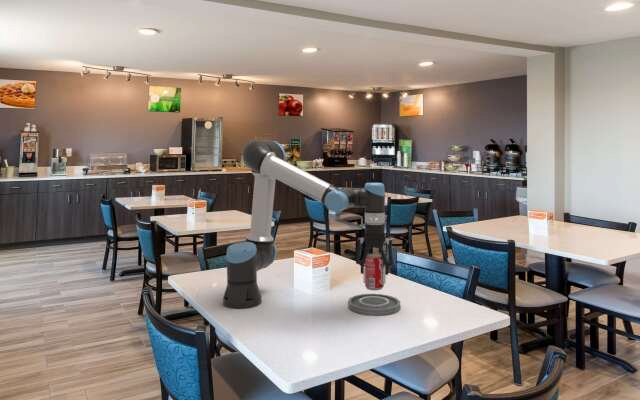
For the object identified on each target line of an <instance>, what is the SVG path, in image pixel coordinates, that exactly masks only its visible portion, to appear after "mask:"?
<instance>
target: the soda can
mask: <svg viewBox="0 0 640 400" xmlns="http://www.w3.org/2000/svg"><path fill="white" fill-rule="evenodd" d="M364 265H365V283H364V285H365V288H366V290H369V291H381V290H382V289H383V288H384V287H385V284H383V266H385V264H384V261H383V258H382V256H381V253H380V254H379V253H368V255H367V256H366V259H365V263H364Z"/></svg>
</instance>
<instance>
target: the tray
mask: <svg viewBox="0 0 640 400" xmlns="http://www.w3.org/2000/svg"><path fill="white" fill-rule="evenodd" d="M347 307H348V309H349V310H350V311H351V312H353V313H356V314H359V315H364V316H377V317H378V316H379V317H380V316H388V315H393V314H396V313H398V312H400V310H401V300H399V299H398V298H397V297H394V296H391V295H388V294H383V293H361V294H357V295H353V296H351V297H349V299H348V301H347Z"/></svg>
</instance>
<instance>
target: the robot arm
mask: <svg viewBox="0 0 640 400" xmlns="http://www.w3.org/2000/svg"><path fill="white" fill-rule="evenodd" d="M286 156H287V155H286V151H285V149H284V148H283V146H282V144H280V143H278V142H276V141H272V140H258V139H254V140H251V141H250V142H248V143H247V144H245V146H244V147H243V148H242V153H241V159H242V162H243V163H244V165H245V166H246V167H247V168H249V169H250V170H251V174H252V175H253V176H254V184H253V194H252V195H253V196H252V205H251V206H252V208H251V218H250V219H251V220H250V231H249V234H247V235H246V237H245V241H239V242H236V243H233V244H230V245H229V246H228V247H227V249H226V255H225V259H226V280H227V281H226V282H227V283H226V288H225V290H224V294H223V299H222V305H223V306H225V307H227V306H228V308H230V307H232V308H231V309H248V307H249V308H253V307H257V306H258V305H260V304H262V294H261V290H260V287H259V286H258V271H260V270H262V269H266V268H268V267H269V266H270V265H271V264H273V263H274V262H275V260H276V257H277V250H278V249H277V247H276V245H275V243H274V242H275V241H274V239H275V238H274V237H273V236H272V234H271V232H272V223H273V210H274V202H275V189H276V180H277V181H279V182H281V183H283V184H285V185H286V186H289V187H291V188H292V189H295V190H297V191H299V192H300V193H302V194H304V195H306V196H308V197H310V198H312V199H313V200H315V201H317V202H320V203H321V204H322V205H325V207H326V209H327V210H328V211H331V212H333V213H338V212H339V213H340V212H342V211H344V210H347V209H350V208H364V223H365V224H364V235H363V237H357V239H356V242H357V249H356V259H355V264H356V265H359V266H360V274H362V275H363V284H365V259H366V256H367V255H368V254H369V251H370V249H374V248H376V249H378V250H379V253H380V254H381V256H382V258H383V262H384V266H383V284H384V285H386V283H387V282H386V281H387V280H386V279H387V276H388V275H389V270H390V269H389V267H391V266H393V265H394V256H393V255H394V254H393V247H392V246H393V238H387V237H386V235H385V233H386V232H385V231H386V230H385V224H384V223H386V221H385V219H386V216H385V215H386V210H385V207H386V206H385V205H386V204H385V201H386V194H385V193H386V190H385V185H384V183H382V182H366V183H365V185H364V187H346V186H345V187H344V186H343V187H337V186H334V185H332V184H330V183H329V182H327V181H325V180H323V179H320V178H319V177H317V176H315V175H313V174H311V173H309V172H307V171H305V170H303V169H301V168H299V167H297V166H295V165H293V164H291V163H289V162H287V161H286V158H287V157H286ZM364 242H365V244H366V245H367V246H366V248H365V252H364V253H363V257H362V259H361V254H362V246H363V245H362V244H363V243H364ZM385 242H386V244H387V245H388V246H387V250H388V258H387V256H386V253H385V249H384V247H383V244H384V243H385ZM388 259H389V261H388Z"/></svg>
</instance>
